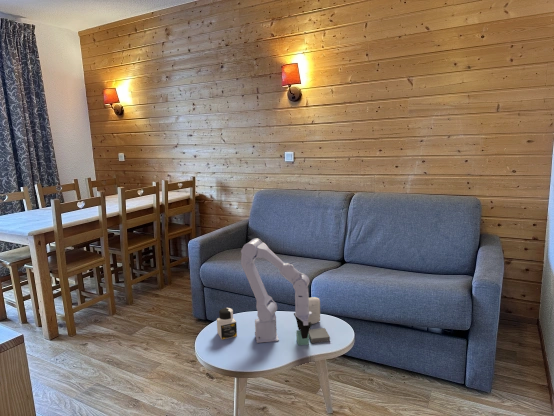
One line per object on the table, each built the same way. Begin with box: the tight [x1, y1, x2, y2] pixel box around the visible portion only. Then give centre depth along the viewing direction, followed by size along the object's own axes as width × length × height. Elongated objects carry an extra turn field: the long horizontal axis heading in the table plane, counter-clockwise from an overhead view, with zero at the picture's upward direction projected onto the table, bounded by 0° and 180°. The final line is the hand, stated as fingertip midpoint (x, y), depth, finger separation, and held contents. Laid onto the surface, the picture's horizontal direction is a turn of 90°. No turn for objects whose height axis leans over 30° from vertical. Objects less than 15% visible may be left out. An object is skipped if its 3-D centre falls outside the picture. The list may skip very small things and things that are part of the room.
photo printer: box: [308, 296, 321, 325], centre depth 178 cm, size 10×4×12 cm, turn 119°
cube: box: [295, 329, 310, 346], centre depth 162 cm, size 4×4×4 cm
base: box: [308, 327, 331, 344], centre depth 165 cm, size 8×8×2 cm
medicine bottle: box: [216, 307, 238, 341], centre depth 169 cm, size 7×7×12 cm
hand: (302, 333), depth 161 cm, fingers open, 7 cm apart
